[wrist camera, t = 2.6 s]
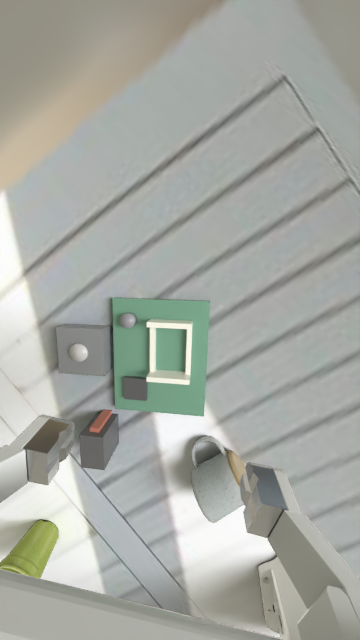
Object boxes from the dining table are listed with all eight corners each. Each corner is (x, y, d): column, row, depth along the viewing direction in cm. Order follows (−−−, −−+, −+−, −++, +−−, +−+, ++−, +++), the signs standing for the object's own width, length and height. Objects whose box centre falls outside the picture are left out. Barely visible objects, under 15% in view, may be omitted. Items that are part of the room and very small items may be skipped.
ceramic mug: (250, 468, 37) (263, 513, 30) (214, 488, 39) (217, 536, 31) (216, 424, 37) (220, 459, 29) (181, 446, 38) (175, 484, 31)
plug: (118, 442, 39) (104, 470, 33) (98, 440, 39) (81, 467, 34) (117, 410, 38) (102, 433, 32) (97, 409, 38) (79, 431, 32)
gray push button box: (111, 369, 37) (102, 377, 33) (70, 366, 37) (56, 374, 34) (110, 326, 35) (100, 330, 32) (67, 323, 36) (53, 327, 33)
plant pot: (75, 534, 44) (45, 594, 35) (48, 554, 46) (14, 615, 37) (44, 505, 44) (6, 558, 35) (19, 526, 45) (-23, 581, 37)
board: (203, 412, 36) (203, 428, 32) (117, 404, 38) (107, 419, 34) (209, 301, 33) (210, 303, 29) (115, 297, 34) (103, 299, 30)
